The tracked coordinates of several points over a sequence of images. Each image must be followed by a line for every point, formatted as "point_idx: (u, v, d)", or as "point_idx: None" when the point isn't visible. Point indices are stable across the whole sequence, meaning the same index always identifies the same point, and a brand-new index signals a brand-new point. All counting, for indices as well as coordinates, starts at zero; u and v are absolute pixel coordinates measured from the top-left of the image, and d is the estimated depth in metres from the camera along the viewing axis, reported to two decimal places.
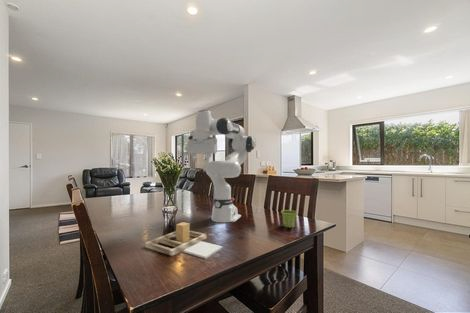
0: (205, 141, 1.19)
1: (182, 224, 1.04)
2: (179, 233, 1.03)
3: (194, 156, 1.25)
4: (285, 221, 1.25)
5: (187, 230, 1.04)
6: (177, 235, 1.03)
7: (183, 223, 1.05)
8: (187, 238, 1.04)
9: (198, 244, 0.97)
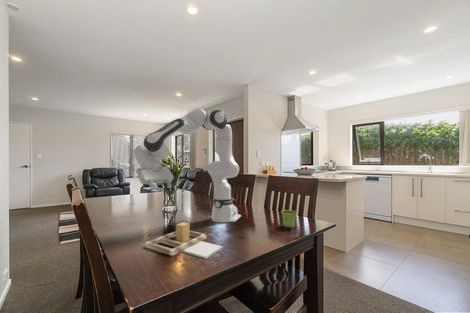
0: None
1: (182, 224, 1.04)
2: (179, 233, 1.03)
3: (169, 182, 1.17)
4: (285, 221, 1.25)
5: (187, 230, 1.04)
6: (177, 235, 1.03)
7: (183, 223, 1.05)
8: (187, 238, 1.04)
9: (198, 244, 0.97)
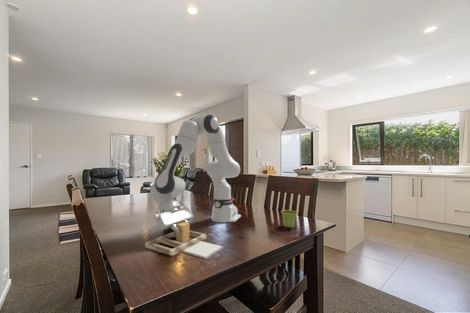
0: None
1: (182, 224, 1.04)
2: (179, 233, 1.03)
3: None
4: (285, 221, 1.25)
5: (187, 230, 1.04)
6: (177, 235, 1.03)
7: (183, 223, 1.05)
8: (187, 238, 1.04)
9: (198, 244, 0.97)
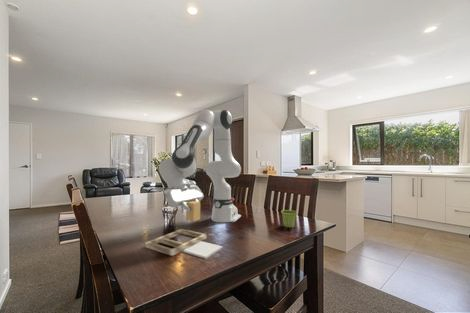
0: None
1: (192, 202, 0.98)
2: None
3: None
4: (285, 221, 1.25)
5: (197, 208, 0.97)
6: (188, 214, 0.97)
7: (193, 201, 0.99)
8: (198, 217, 0.97)
9: (198, 244, 0.97)
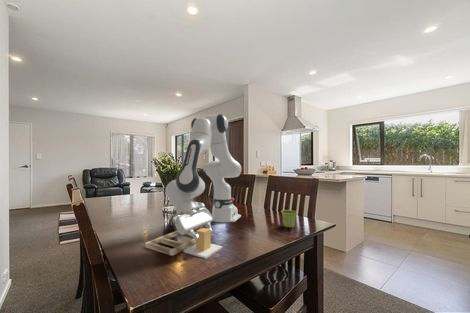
0: None
1: (203, 230, 0.93)
2: (199, 240, 0.91)
3: (209, 226, 0.98)
4: (285, 221, 1.25)
5: (208, 236, 0.93)
6: (198, 242, 0.92)
7: (204, 229, 0.94)
8: (208, 246, 0.93)
9: None
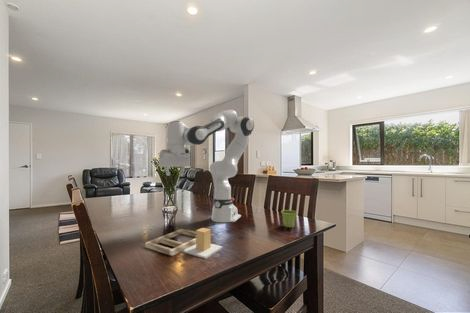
0: None
1: (203, 230, 0.93)
2: (199, 240, 0.91)
3: (182, 169, 1.22)
4: (285, 221, 1.25)
5: (208, 236, 0.93)
6: (198, 242, 0.92)
7: (204, 229, 0.94)
8: (208, 246, 0.93)
9: None
